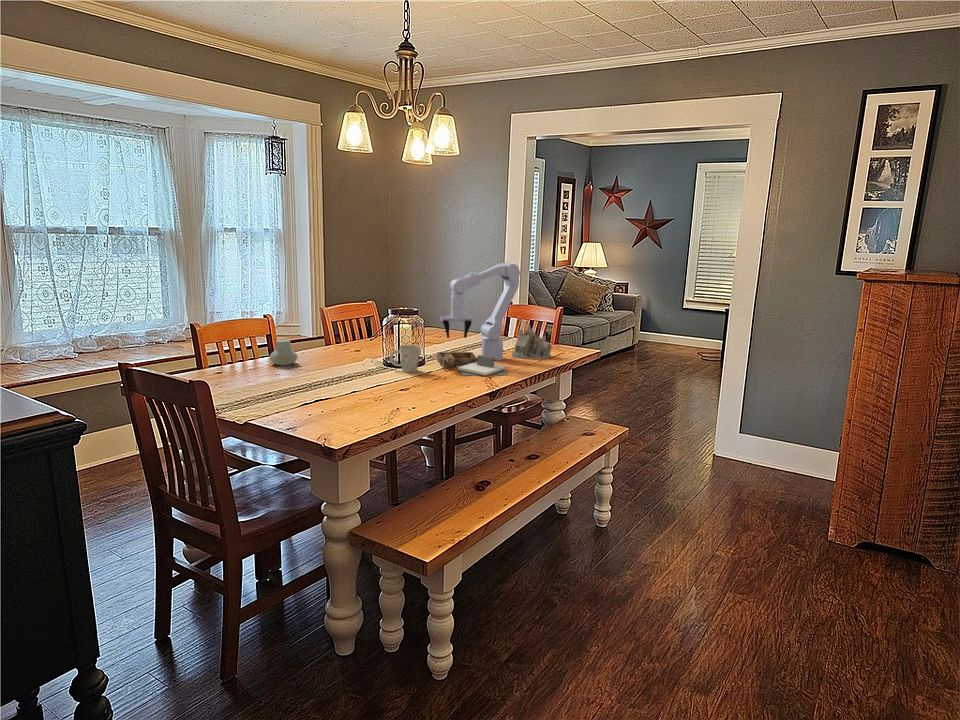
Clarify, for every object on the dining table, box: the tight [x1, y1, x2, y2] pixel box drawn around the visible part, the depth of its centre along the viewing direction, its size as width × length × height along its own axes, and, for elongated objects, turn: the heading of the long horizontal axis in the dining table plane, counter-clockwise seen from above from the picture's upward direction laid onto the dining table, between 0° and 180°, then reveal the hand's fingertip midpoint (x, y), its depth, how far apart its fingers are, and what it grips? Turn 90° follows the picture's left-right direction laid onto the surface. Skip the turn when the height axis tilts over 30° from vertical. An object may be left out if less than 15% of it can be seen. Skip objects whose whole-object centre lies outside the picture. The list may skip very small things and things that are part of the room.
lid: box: [457, 354, 508, 376], centre depth 264 cm, size 16×14×6 cm
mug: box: [389, 344, 421, 373], centre depth 260 cm, size 8×13×10 cm, turn 89°
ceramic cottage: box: [511, 323, 553, 360], centre depth 296 cm, size 16×16×15 cm
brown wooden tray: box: [436, 351, 477, 370], centre depth 277 cm, size 16×20×4 cm
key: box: [445, 354, 454, 363], centre depth 263 cm, size 2×8×2 cm, turn 11°
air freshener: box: [269, 339, 298, 367], centre depth 263 cm, size 11×8×10 cm
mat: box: [455, 365, 509, 377], centre depth 266 cm, size 19×17×1 cm
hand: (456, 337), depth 281 cm, fingers open, 7 cm apart
